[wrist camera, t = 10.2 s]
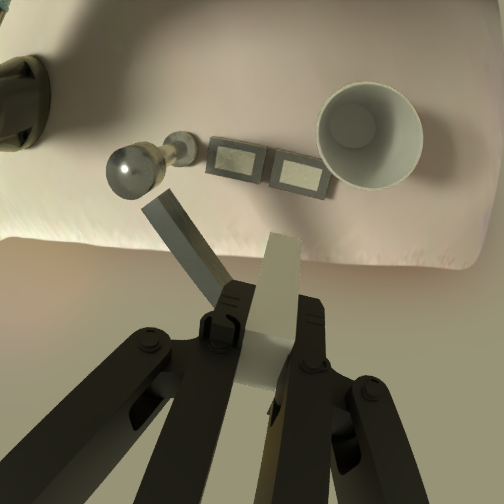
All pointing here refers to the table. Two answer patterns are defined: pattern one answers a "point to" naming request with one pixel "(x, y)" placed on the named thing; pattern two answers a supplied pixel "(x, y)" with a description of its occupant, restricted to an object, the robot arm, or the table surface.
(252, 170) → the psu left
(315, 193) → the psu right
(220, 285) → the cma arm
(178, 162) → the post
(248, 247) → the table surface
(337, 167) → the cup
